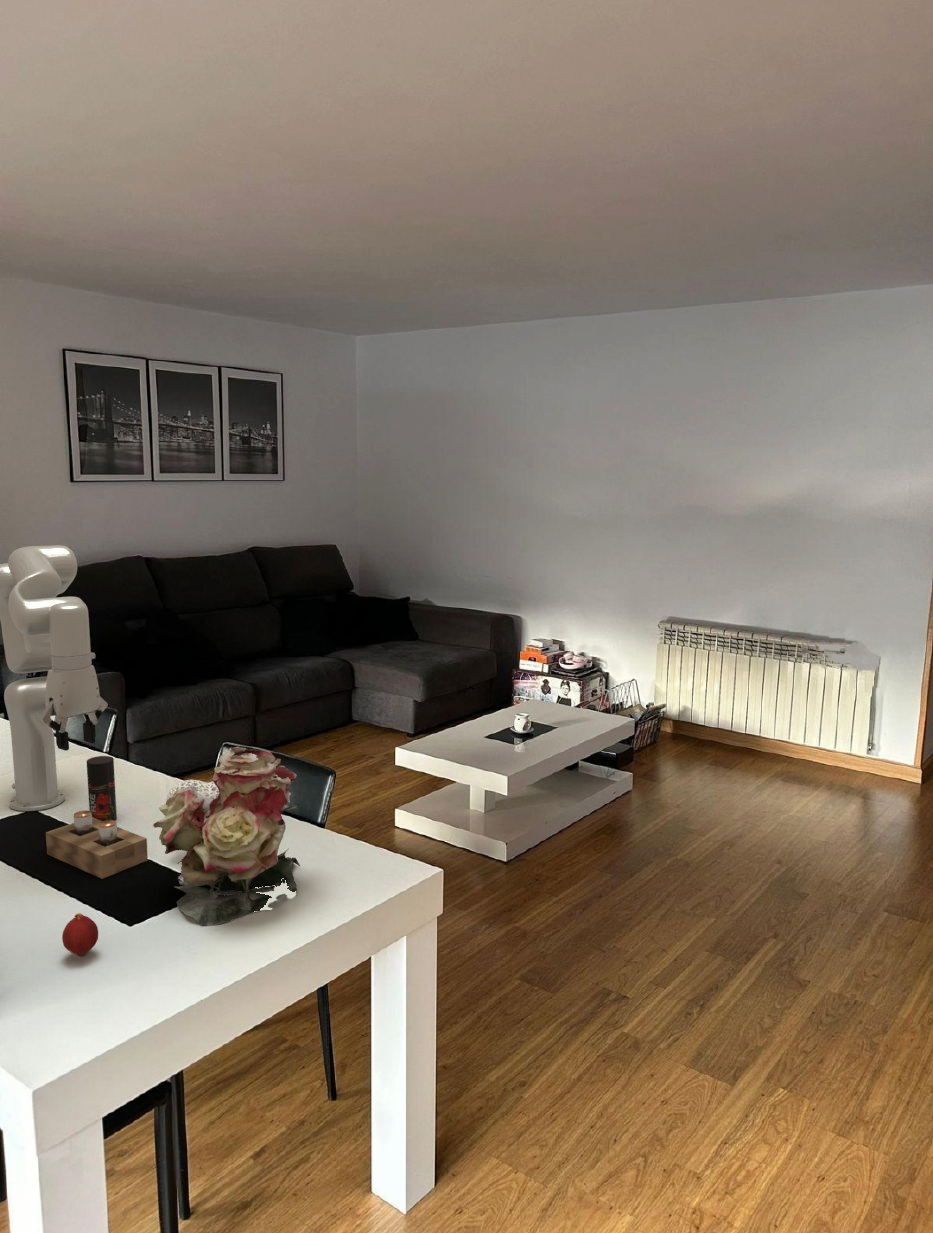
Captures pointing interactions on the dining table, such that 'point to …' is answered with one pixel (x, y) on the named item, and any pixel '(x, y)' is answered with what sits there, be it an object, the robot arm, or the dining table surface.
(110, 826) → the plunger
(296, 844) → the dining table surface
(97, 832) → the socket block
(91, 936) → the onion
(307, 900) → the dining table surface
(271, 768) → the rose bouquet
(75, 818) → the plunger
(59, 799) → the robot arm
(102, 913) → the dining table surface
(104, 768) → the deodorant
